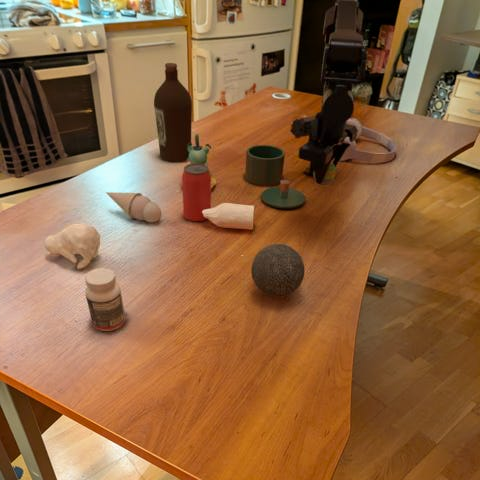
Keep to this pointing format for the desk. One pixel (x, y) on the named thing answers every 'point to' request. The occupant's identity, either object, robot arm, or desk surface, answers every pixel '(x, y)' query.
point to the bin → (264, 165)
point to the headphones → (373, 135)
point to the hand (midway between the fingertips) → (323, 179)
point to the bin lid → (283, 196)
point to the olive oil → (173, 117)
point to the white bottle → (231, 215)
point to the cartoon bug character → (199, 155)
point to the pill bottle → (104, 299)
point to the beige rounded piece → (75, 243)
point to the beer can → (196, 191)
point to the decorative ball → (277, 270)
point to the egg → (327, 176)
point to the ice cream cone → (137, 206)
